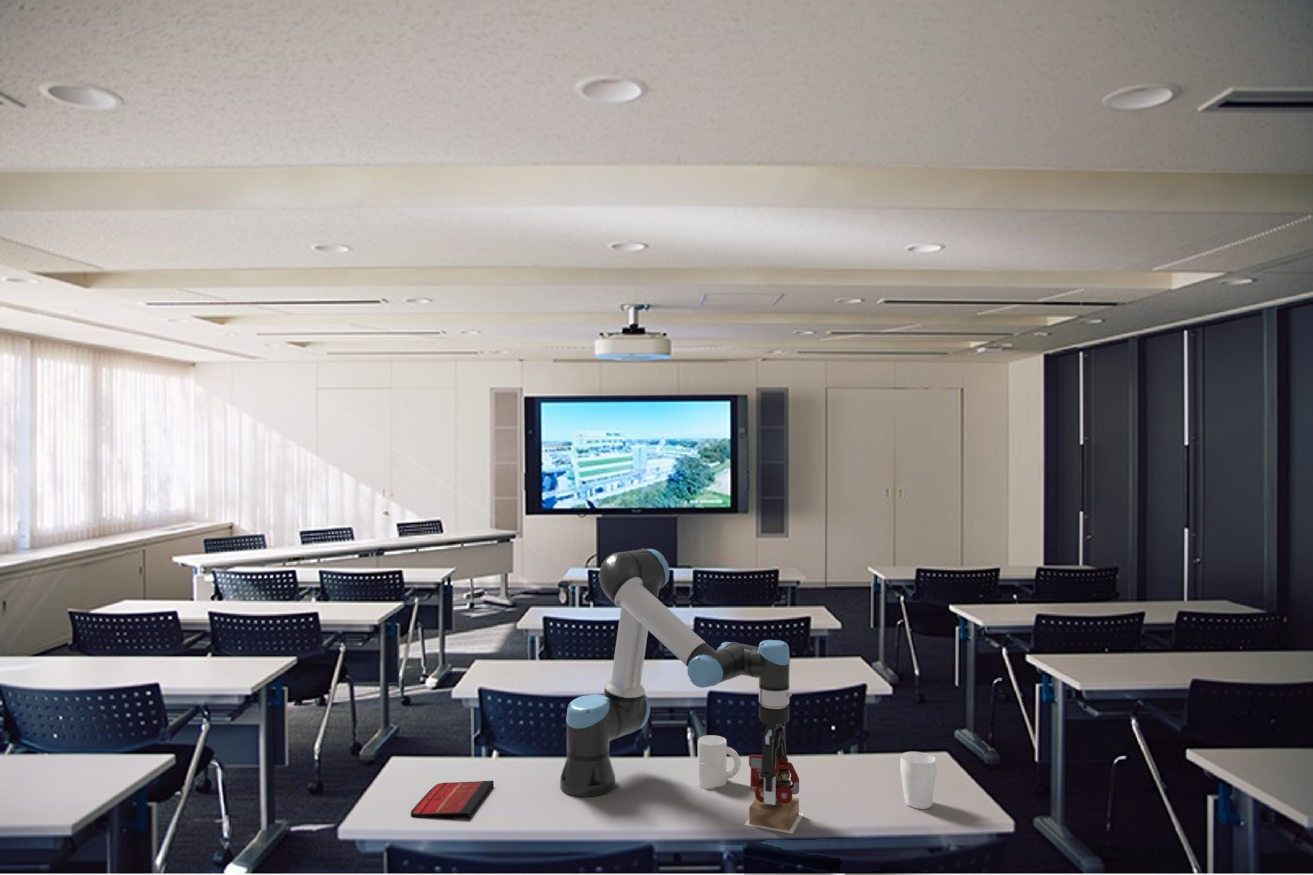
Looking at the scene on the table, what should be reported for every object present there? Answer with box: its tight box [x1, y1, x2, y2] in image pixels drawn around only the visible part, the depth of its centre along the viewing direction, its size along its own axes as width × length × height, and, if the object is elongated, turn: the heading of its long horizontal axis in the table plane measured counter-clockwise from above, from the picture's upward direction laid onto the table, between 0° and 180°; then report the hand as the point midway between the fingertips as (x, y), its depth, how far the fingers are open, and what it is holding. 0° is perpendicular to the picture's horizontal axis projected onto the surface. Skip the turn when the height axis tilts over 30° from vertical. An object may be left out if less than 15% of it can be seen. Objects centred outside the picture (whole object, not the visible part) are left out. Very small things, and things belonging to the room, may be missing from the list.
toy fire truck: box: [748, 754, 800, 804], centre depth 206 cm, size 7×12×10 cm, turn 83°
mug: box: [697, 734, 742, 790], centre depth 229 cm, size 8×12×12 cm
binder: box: [410, 780, 495, 821], centre depth 218 cm, size 16×2×21 cm
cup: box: [899, 751, 937, 810], centre depth 217 cm, size 9×9×12 cm
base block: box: [748, 796, 800, 831], centre depth 206 cm, size 10×10×4 cm
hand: (774, 796), depth 206 cm, fingers closed on toy fire truck, 8 cm apart
